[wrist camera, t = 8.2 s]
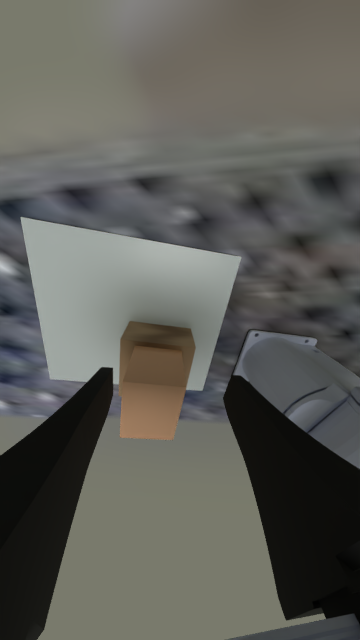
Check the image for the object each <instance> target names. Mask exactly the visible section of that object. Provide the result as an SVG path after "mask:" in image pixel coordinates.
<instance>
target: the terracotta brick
mask: <svg viewBox="0 0 360 640" xmlns="http://www.w3.org/2000/svg"><path fill="white" fill-rule="evenodd" d="M185 391H186V380H185V372H184V364H183V356H182V351H179V350H170V349H162V348H153V347H144V346H135V347H134V350H133V353H132V356H131V359H130V362H129V365H128V368H127V370H126V373H125V376H124V379H123V385H122V404H121V424H120V438H140V439H163V440H173V438H174V434H175V430H176V426H177V422H178V418H179V414H180V410H181V406H182V402H183V399H184V395H185Z"/></svg>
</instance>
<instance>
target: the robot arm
mask: <svg viewBox="0 0 360 640" xmlns="http://www.w3.org/2000/svg"><path fill="white" fill-rule="evenodd" d="M256 333H257V335H255V334H256ZM305 340H306V341H305ZM316 343H317V339H315V338H313V337H305V336H298V335H290V334H282V333H274V332H266V331H258V330H250V331H249V332H248V335H247V337H246V340H245V343H244V345H243V348H242V351H241V354H240V356H239V359H238V362H237V364H236V367H235V370H234V373H233V375H232V376H231V378H230V381H229V384H228V386H227V389H226V392H225V394H224V397H223V400H224V404H225V408H226V412H227V415H228V418H229V421H230V424H231V426H232V429H233V432H234V434H235V437H236V439H237V442H238V444H239V447H240V450H241V452H242V455H243V458H244V461H245V463H246V467H247V470H248V473H249V477H250V480H251V484H252V487H253V491H254V495H255V498H256V502H257V506H258V509H259V513H260V517H261V522H262V525H263V530H264V534H265V538H266V542H267V546H268V551H269V555H270V560H271V564H272V569H273V574H274V579H275V584H276V589H277V594H278V598H279V601H280V604H281V607H282V610H283V613H284V616H285V619H286V620H291V619H296V618H301V617H306V616H311V615H316V614H321V613H324V615H325V617H326V619H324V620H319V621H314V622H310V623H305V624H300V625H295V626H290V627H285V628H280V629H275V630H270V631H266V632H261V633H256V634H251V635H246V636H241V637H236V638H231V639H227V640H360V378H359V377H358V376H357V375H355V374H354V373H353V372H351V371H350V370H348V369H347V368H345V367H344V366H342V365H341V364H339V363H338V362H337V361H335V360H334V359H332V358H331V357H329V356H328V355H326V354H325V353H324V352H322V351H321V350H319V349H318V348H316V347H315V344H316ZM248 381H250V382H251V384H252V385H251V384H250V383H249V382H248ZM112 396H113V368H111V367H101V368H100V369H99V370H98V371H97V372H96V373H95V374H94V375H93V376H92V377H91V379H90V380H89V381H88V382H87V383H86V384H85V385H84V386H83V387H82V388H81V389H80V390H79V391H78V392H77V393H76V394H75V395H74V396H73V397H72V398H71V399H69V400H68V401H67V402H66V403H65V404H64V405H63V406H62V407H61V408H60V409H58V410H57V411H56V412H55V413H54V414H53V415H52V416H50V417H49V418H48V419H47V420H46V421H45V422H43V423H42V424H41V425H40V426H38V427H37V428H36V429H35V430H34V431H32V432H31V433H30V434H28V435H27V436H26V437H25V438H23V439H22V440H21V441H19V442H18V443H17V444H15V445H14V446H13V447H11V448H10V449H9V450H7V451H6V452H5V453H4V454H2V455H0V640H37V639H38V637H39V636H40V634H41V633H42V632H43V630H44V627H45V623H46V619H47V615H48V611H49V607H50V604H51V600H52V596H53V592H54V588H55V584H56V580H57V577H58V573H59V569H60V565H61V561H62V557H63V554H64V550H65V547H66V543H67V539H68V535H69V532H70V528H71V524H72V521H73V517H74V514H75V510H76V507H77V503H78V500H79V496H80V493H81V489H82V486H83V482H84V479H85V475H86V472H87V469H88V466H89V463H90V460H91V457H92V455H93V452H94V449H95V447H96V444H97V441H98V438H99V436H100V433H101V431H102V427H103V425H104V423H105V420H106V417H107V414H108V411H109V408H110V404H111V400H112Z"/></svg>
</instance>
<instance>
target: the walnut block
mask: <svg viewBox="0 0 360 640" xmlns="http://www.w3.org/2000/svg"><path fill="white" fill-rule="evenodd" d="M135 346H144V347H153V348H162V349H170V350H179V351H182V356H183V364H184V372H185V380H186V387H187V383H188V378H189V374H190V370H191V366H192V362H193V357H194V353H195V349H196V346H195V342H194V338H193V335H192V331H191V328H183V327H175V326H166V325H158V324H150V323H142V322H134V321H130V322H129V323H128V325H127V327H126V329H125V331H124V333H123V335H122V337H121V339H120V367H119V396H122V385H123V379H124V376H125V373H126V370H127V368H128V365H129V362H130V359H131V356H132V353H133V350H134V347H135Z"/></svg>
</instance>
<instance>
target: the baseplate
mask: <svg viewBox="0 0 360 640" xmlns="http://www.w3.org/2000/svg"><path fill="white" fill-rule="evenodd" d="M21 223H22V228H23V234H24V239H25V244H26V250H27V255H28V261H29V266H30V272H31V277H32V282H33V288H34V293H35V299H36V304H37V310H38V315H39V320H40V326H41V331H42V337H43V342H44V347H45V353H46V358H47V364H48V369H49V375H50V379H56V380H69V381H82V382H88V381H89V380H90V379H91V377H92V376H93V375H94V374H95V373H96V372H97V371H98V370H99V369H100V368H101V367H111V368H113V384H119V367H120V339H121V337H122V335H123V333H124V331H125V329H126V327H127V325H128V323H129V322H130V321H134V322H142V323H150V324H158V325H166V326H175V327H183V328H191V331H192V335H193V338H194V342H195V346H196V349H195V353H194V357H193V362H192V366H191V370H190V374H189V378H188V383H187V387H186V390H199V391H202V390H203V387H204V384H205V380H206V377H207V373H208V370H209V366H210V363H211V360H212V356H213V353H214V349H215V346H216V342H217V339H218V336H219V332H220V329H221V325H222V322H223V318H224V315H225V312H226V308H227V305H228V301H229V298H230V294H231V291H232V288H233V284H234V281H235V277H236V274H237V270H238V267H239V264H240V260H241V257H238V256H233V255H227V254H222V253H216V252H211V251H205V250H200V249H194V248H189V247H183V246H178V245H172V244H167V243H161V242H156V241H150V240H144V239H139V238H133V237H128V236H122V235H117V234H111V233H106V232H100V231H95V230H89V229H84V228H78V227H73V226H67V225H62V224H56V223H51V222H45V221H40V220H34V219H29V218H23V217H21Z"/></svg>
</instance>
